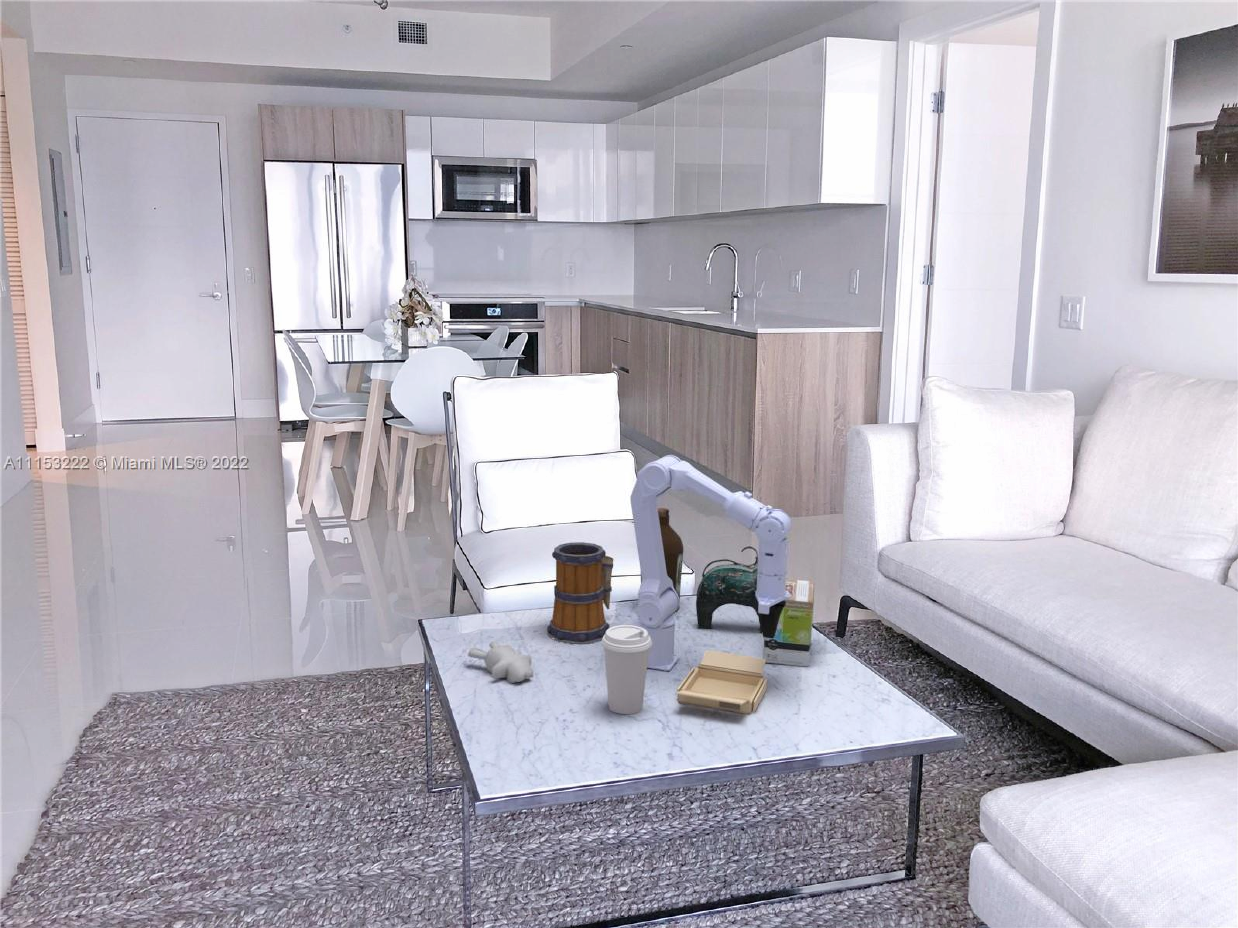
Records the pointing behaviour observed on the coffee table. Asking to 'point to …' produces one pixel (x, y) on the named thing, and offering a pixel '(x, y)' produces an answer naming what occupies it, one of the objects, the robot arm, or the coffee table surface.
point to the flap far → (733, 662)
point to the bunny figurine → (505, 662)
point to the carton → (723, 688)
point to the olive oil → (671, 550)
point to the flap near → (711, 697)
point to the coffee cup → (626, 667)
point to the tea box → (793, 627)
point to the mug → (580, 593)
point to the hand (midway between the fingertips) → (768, 636)
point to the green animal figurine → (726, 589)
